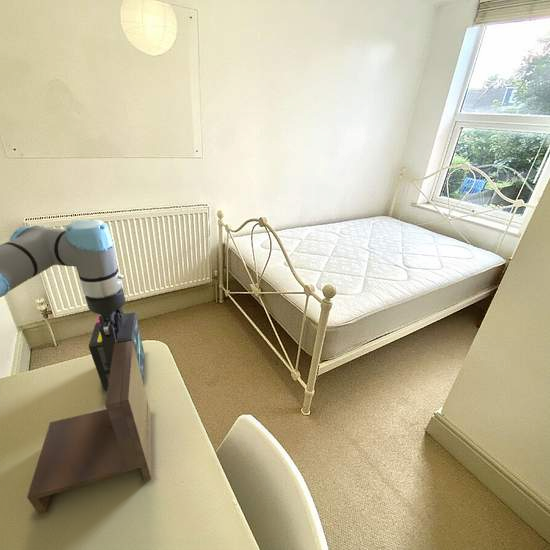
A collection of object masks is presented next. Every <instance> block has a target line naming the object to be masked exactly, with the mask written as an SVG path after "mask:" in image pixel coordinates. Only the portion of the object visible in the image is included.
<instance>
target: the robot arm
mask: <svg viewBox="0 0 550 550" xmlns="http://www.w3.org/2000/svg"><path fill="white" fill-rule="evenodd" d="M114 246H115V245H114V240H113V238H112V235H111V231H110V228H109V226H108V224H107V223H106V222H104V221H103V220H99V219H80V220H75V221H72V222H71V223H69V224H68V225H66V227H65V228H57V227H49V226H44V225H24V226H21V227H18V228H17V229H15V230H14V232H13V234H11V235H10V237H9V241H6V242H4V243H1V244H0V298H2V297H4V296H6V295H7V294H8V293H9V292H10V291H13V290H14V289H15V288H17V287H19V286H20V285H22V284H23V283H25V282H26V281H27V282H28V281H29V280H31V279H33V278H34V277H36V276H38V275H40V274H41V273H43V272H44V271H46V270H48V269H50V268H51V267H53V266H61V267H62V266H64V267H75V268H76V272H77V275H78V279H79V282H80V285H81V289H82V292H83V295H84V298H85V302H86V305H87V308H88V310H89V311H90V312H91V313H93V314H97V315H99V316H98V317H99V320H100V323H101V327H99V331H100V333H101V337H102V342H103V347H104V353H105V359H106V363H105V366H107V369H109V368H111V363H112V356H113V350H114V344H117V342H116V339H118V332H120V326H119V320H120V318H121V317H122V314H125V312H124V311H123V308H122V307H124V305H125V304H126V296H125V291H124V288H123V284H122V281H121V280H123V279H124V275H123V274H120V271H119V266H118V263H117V257H116V252H115V247H114ZM115 327H116V330H114V328H115Z"/></svg>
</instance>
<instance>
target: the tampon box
mask: <svg viewBox="0 0 550 550" xmlns="http://www.w3.org/2000/svg"><path fill="white" fill-rule="evenodd" d="M119 326H120V332H118V339H116V342H117V343H122V342H128V341H133V343H134V348H135V352H136V356H137V360H138V364H139V368H140V372H141V376H142V380H143V381H144V374H145V373H144V372H145V350H144V346H143V341H142V335H141V330H140V325H139V321H138V315H137V312H136V311H133V312H126V313H125V312H124V314H122V317H121V318H120V320H119ZM99 327H101V323H100V320H99V316H97V317H96V321H95V324H94V328H93V330H92V333H91V337H90V340H89V343H88V349H89V352H90V354H91V357H92V361H93V363H94V366H95V368H96V372H97V375H98V378H99V380H100V384H101V387H102V390H104V391H105V390H108V384H109V377H110V370H111V368H109V369H107V366H105V363H106V359H105V353H104V347H103V342H102V337H101V333H100V331H99ZM114 330H116V327H115V328H114Z"/></svg>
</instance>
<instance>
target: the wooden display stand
mask: <svg viewBox="0 0 550 550" xmlns="http://www.w3.org/2000/svg"><path fill="white" fill-rule="evenodd" d="M105 398H106V399H105V405H104V406H105V409H102V410H96V411H92V412H89V413H84V414H81V415H76V416H71V417H68V418H63V419H59V420H55V421H50V422H49V425H48V427H47V430H46V431H47V432H46V434H45V437H44V440H43V444H42V447H41V451H40V454H39V457H38V461H37V464H36V467H35V471H34V473H33V477H32V479H31V482H30V486H29V490H28V492H27V497H26V498H27V500H28V501H29V503H30V504H31V505H32V507H33V508H34V510H35V511H36V513H37V514H38V515H41V514H45V513H47V512H48V510H49V509H48V508H49V505H50V500H51V496H52V495H55V494H57V493H61V492H64V491H69V490H71V489H74V488H78V487H82V486H85V485H87V484H91V483H95V482H98V481H102V480H105V479H108V478H111V477H115V476H119V475H121V474H125V473H128V472H131V471H134V470H138V469H140V470H141V474H142V477H143V481H144V482H147V481H151V480H152V414H151V410H150V404H149V401H148V397H147V393H146V389H145V385H144V379H143V380H142V376H141V372H140V368H139V364H138V360H137V356H136V352H135V348H134V343H133V341H128V342H122V343H117V344H114V350H113V356H112V363H111V370H110V377H109V384H108V389H107V391H106V397H105Z"/></svg>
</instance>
